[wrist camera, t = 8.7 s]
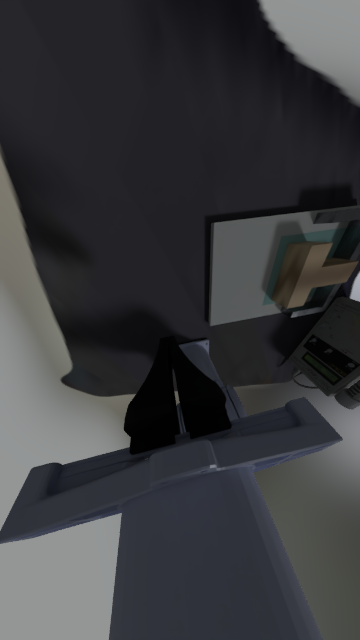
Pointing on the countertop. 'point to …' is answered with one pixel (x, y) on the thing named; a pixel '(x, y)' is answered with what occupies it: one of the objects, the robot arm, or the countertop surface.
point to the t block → (308, 272)
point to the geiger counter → (333, 353)
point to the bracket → (352, 244)
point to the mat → (258, 260)
